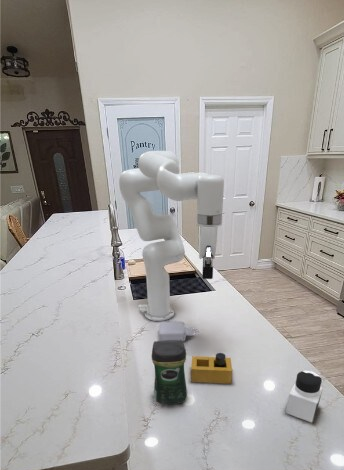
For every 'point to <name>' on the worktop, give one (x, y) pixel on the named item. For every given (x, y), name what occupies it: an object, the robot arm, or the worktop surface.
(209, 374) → the ochre block
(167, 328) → the charger
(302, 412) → the medicine bottle
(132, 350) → the worktop surface
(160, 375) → the coffee jar
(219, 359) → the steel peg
